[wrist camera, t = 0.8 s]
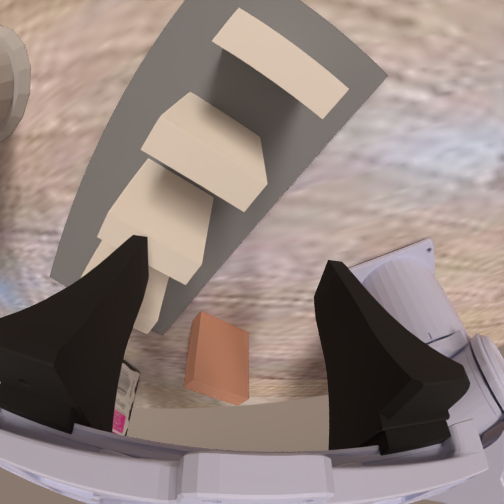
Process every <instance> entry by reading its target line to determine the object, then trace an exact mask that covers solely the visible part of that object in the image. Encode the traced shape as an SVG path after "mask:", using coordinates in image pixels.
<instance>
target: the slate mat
mask: <svg viewBox="0 0 504 504" xmlns="http://www.w3.org/2000/svg"><path fill="white" fill-rule="evenodd" d="M238 8H241V9H242V10H244V11H245V12H247V13H249V14H250V15H252V16H253V17H255V18H257V19H258V20H260V21H261V22H263V23H264V24H266V25H267V26H269V27H270V28H272V29H273V30H275V31H276V32H277V33H279V34H280V35H282V36H283V37H285V38H286V39H287V40H289V41H290V42H291V43H293V44H294V45H296V46H297V47H298V48H300V49H301V50H302V51H304V52H305V53H306V54H307V55H309V56H310V57H311V58H313V59H314V60H315V61H316V62H318V63H319V64H320V65H321V66H323V67H324V68H325V69H326V70H328V71H329V72H330V73H331V74H332V75H334V76H335V77H336V78H337V79H338V80H339V81H341V82H342V83H343V84H344V85H345V86H346V87H347V88H349V90H348V91H347V92H346V93H345V94H344V96H343V97H342V98H341V99H340V100H339V101H338V102H337V104H336V105H335V106H334V107H333V108H332V109H331V110H330V112H329V113H328V114H327V115H326V116H325V117H324V118H323V119H322V118H320V117H319V116H318V115H317V114H315V113H314V112H313V111H312V110H310V109H309V108H308V107H307V106H305V105H304V104H303V103H301V102H300V101H299V100H297V99H296V98H295V97H293V96H292V95H291V94H289V93H288V92H287V91H285V90H284V89H283V88H281V87H280V86H279V85H277V84H276V83H274V82H273V81H272V80H270V79H269V78H267V77H266V76H265V75H263V74H262V73H260V72H259V71H257V70H256V69H254V68H253V67H251V66H250V65H248V64H247V63H245V62H244V61H242V60H241V59H239V58H238V57H236V56H235V55H233V54H232V53H230V52H228V51H227V50H225V49H224V48H222V47H220V46H219V45H217V44H215V43H214V42H212V40H213V39H214V37H215V36H216V35H217V34H218V32H219V31H220V30H221V29H222V27H223V26H224V25H225V24H226V22H227V21H228V20H229V19H230V17H231V16H232V15H233V14H234V13H235V11H236V10H237V9H238ZM387 76H388V75H387V74H386V73H385V72H384V71H383V70H382V69H381V68H380V67H379V66H378V65H377V64H376V63H375V62H374V61H373V60H372V59H371V58H370V57H369V56H368V55H367V54H366V53H364V52H363V51H362V50H361V49H360V48H359V47H358V46H357V45H356V44H354V43H353V42H352V41H351V40H350V39H349V38H348V37H346V36H345V35H344V34H343V33H342V32H340V31H339V30H338V29H337V28H336V27H334V26H333V25H332V24H331V23H329V22H328V21H327V20H326V19H324V18H323V17H322V16H320V15H319V14H318V13H317V12H315V11H314V10H313V9H311V8H310V7H309V6H307V5H306V4H304V3H303V2H302V1H300V0H185V1H184V2H183V4H182V5H181V6H180V8H179V9H178V10H177V12H176V13H175V14H174V16H173V17H172V18H171V20H170V21H169V23H168V24H167V25H166V27H165V28H164V30H163V31H162V32H161V34H160V35H159V37H158V38H157V40H156V41H155V43H154V44H153V46H152V47H151V49H150V50H149V52H148V53H147V55H146V57H145V58H144V60H143V61H142V63H141V65H140V66H139V68H138V70H137V71H136V73H135V74H134V76H133V78H132V80H131V81H130V83H129V85H128V87H127V88H126V90H125V92H124V94H123V95H122V97H121V99H120V101H119V103H118V105H117V106H116V108H115V110H114V112H113V114H112V116H111V118H110V120H109V122H108V124H107V126H106V128H105V130H104V132H103V134H102V136H101V138H100V140H99V142H98V145H97V147H96V149H95V151H94V153H93V156H92V158H91V160H90V162H89V165H88V167H87V169H86V172H85V174H84V177H83V179H82V181H81V184H80V186H79V189H78V192H77V194H76V197H75V199H74V202H73V205H72V207H71V210H70V213H69V216H68V219H67V222H66V224H65V227H64V230H63V233H62V237H61V240H60V243H59V246H58V249H57V253H56V256H55V260H54V263H53V267H52V270H51V274H50V277H51V278H53V279H55V280H56V281H58V282H60V283H61V284H63V285H65V286H67V287H68V286H70V285H71V284H73V283H74V282H76V281H77V280H79V279H80V278H81V276H82V274H83V272H84V271H85V269H86V267H87V265H88V263H89V262H90V260H91V258H92V256H93V255H94V253H95V251H96V249H97V248H98V246H99V244H100V243H101V241H102V240H101V239H100V238H98V237H97V236H98V233H99V231H100V229H101V227H102V224H103V222H104V220H105V218H106V216H107V214H108V212H109V210H110V209H111V207H112V206H113V205H114V203H115V202H116V200H117V199H118V198H119V196H120V195H121V193H122V192H123V191H124V189H125V188H126V186H127V185H128V184H129V182H130V181H131V180H132V178H133V177H134V176H135V174H136V173H137V172H138V171H139V169H140V168H141V167H142V165H143V164H144V163H145V161H146V160H147V159H148V158H149V159H151V160H152V161H154V162H156V163H157V164H159V165H161V166H162V167H164V168H166V169H167V170H169V171H171V172H173V173H174V174H176V175H178V176H179V177H181V178H183V179H184V180H186V181H188V182H189V183H191V184H193V185H194V186H196V187H197V188H199V189H201V190H202V191H204V192H206V193H207V194H209V195H211V196H212V197H214V199H213V204H212V210H211V215H210V221H209V226H208V232H207V237H206V243H205V249H204V255H203V261H202V265H201V266H200V267H199V269H198V270H197V271H196V273H195V274H194V275H193V276H192V278H191V279H190V280H189V281H188V283H187V284H186V285H185V284H183V283H181V282H179V281H177V280H175V279H173V278H171V277H169V279H168V283H167V286H166V290H165V294H164V298H163V302H162V306H161V310H160V314H159V318H158V321H157V322H156V324H155V325H154V326H153V328H152V329H151V330H152V331H154V332H156V333H158V334H161V335H163V334H164V333H165V332H166V331H167V329H168V328H169V327H170V326H171V325H172V323H173V322H174V321H175V320H176V319H177V318H178V316H179V315H180V314H181V313H182V312H183V310H184V309H185V308H186V307H187V306H188V304H189V303H190V302H191V301H192V300H193V299H194V297H195V296H196V295H197V294H198V293H199V291H200V290H201V289H202V288H203V287H204V286H205V284H206V283H207V282H208V281H209V280H210V278H211V277H212V276H213V275H214V274H215V273H216V271H217V270H218V269H219V268H220V267H221V266H222V264H223V263H224V262H225V261H226V260H227V259H228V257H229V256H230V255H231V254H232V253H233V252H234V250H235V249H236V248H237V247H238V246H239V245H240V243H241V242H242V241H243V240H244V239H245V238H246V236H247V235H248V234H249V233H250V232H251V231H252V229H253V228H254V227H255V226H256V225H257V224H258V222H259V221H260V220H261V219H262V218H263V217H264V216H265V214H266V213H267V212H268V211H269V210H270V209H271V207H272V206H273V205H274V204H275V203H276V202H277V201H278V199H279V198H280V197H281V196H282V195H283V194H284V192H285V191H286V190H287V189H288V188H289V187H290V186H291V184H292V183H293V182H294V181H295V180H296V179H297V178H298V176H299V175H300V174H301V173H302V172H303V171H304V170H305V168H306V167H307V166H308V165H309V164H310V163H311V162H312V160H313V159H314V158H315V157H316V156H317V155H318V154H319V153H320V151H321V150H322V149H323V148H324V147H325V146H326V145H327V143H328V142H329V141H330V140H331V139H332V138H333V137H334V136H335V134H336V133H337V132H338V131H339V130H340V129H341V128H342V126H343V125H344V124H345V123H346V122H347V121H348V120H349V119H350V117H351V116H352V115H353V114H354V113H355V112H356V111H357V110H358V109H359V107H360V106H361V105H362V104H363V103H364V102H365V101H366V100H367V98H368V97H369V96H370V95H371V94H372V93H373V92H374V91H375V90H376V88H377V87H378V86H379V85H380V84H381V83H382V82H383V81H384V80H385V78H386V77H387ZM189 92H191V93H193V94H195V95H196V96H198V97H200V98H201V99H203V100H204V101H206V102H208V103H209V104H211V105H212V106H214V107H216V108H217V109H219V110H220V111H222V112H223V113H225V114H226V115H228V116H230V117H231V118H233V119H234V120H236V121H237V122H239V123H240V124H242V125H243V126H245V127H246V128H248V129H249V130H251V131H252V132H253V133H255V134H256V135H258V136H259V137H260V139H261V145H262V152H263V158H264V164H265V171H266V177H267V185H266V186H265V188H264V189H263V190H262V191H261V192H260V194H259V195H258V196H257V197H256V198H255V200H254V201H253V202H252V203H251V205H250V206H249V207H248V208H247V209H246V211H245V212H243V211H241V210H240V209H238V208H236V207H235V206H233V205H232V204H230V203H228V202H227V201H225V200H223V199H222V198H220V197H219V196H217V195H215V194H214V193H212V192H210V191H209V190H207V189H205V188H204V187H202V186H201V185H199V184H197V183H196V182H194V181H192V180H191V179H189V178H187V177H186V176H184V175H182V174H181V173H179V172H177V171H176V170H174V169H172V168H171V167H169V166H167V165H166V164H164V163H162V162H161V161H159V160H157V159H156V158H154V157H152V156H150V155H149V154H147V153H145V152H144V151H142V150H141V148H142V146H143V144H144V143H145V141H146V139H147V137H148V136H149V134H150V132H151V131H152V129H153V127H154V125H155V124H156V122H157V121H158V119H159V117H160V116H161V115H162V114H163V113H164V112H166V111H167V110H168V109H169V108H170V107H172V106H173V105H174V104H175V103H176V102H178V101H179V100H180V99H181V98H183V97H184V96H185V95H186V94H188V93H189Z"/></svg>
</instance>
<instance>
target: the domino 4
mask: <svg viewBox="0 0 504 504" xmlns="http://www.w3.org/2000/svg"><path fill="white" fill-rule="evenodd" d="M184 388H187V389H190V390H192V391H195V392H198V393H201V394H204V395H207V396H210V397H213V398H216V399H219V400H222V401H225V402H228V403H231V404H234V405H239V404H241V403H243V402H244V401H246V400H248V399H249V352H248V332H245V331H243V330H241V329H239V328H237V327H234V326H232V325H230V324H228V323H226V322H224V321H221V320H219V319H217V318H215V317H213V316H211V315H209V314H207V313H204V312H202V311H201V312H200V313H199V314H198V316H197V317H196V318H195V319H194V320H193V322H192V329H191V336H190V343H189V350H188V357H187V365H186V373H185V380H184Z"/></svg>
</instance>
